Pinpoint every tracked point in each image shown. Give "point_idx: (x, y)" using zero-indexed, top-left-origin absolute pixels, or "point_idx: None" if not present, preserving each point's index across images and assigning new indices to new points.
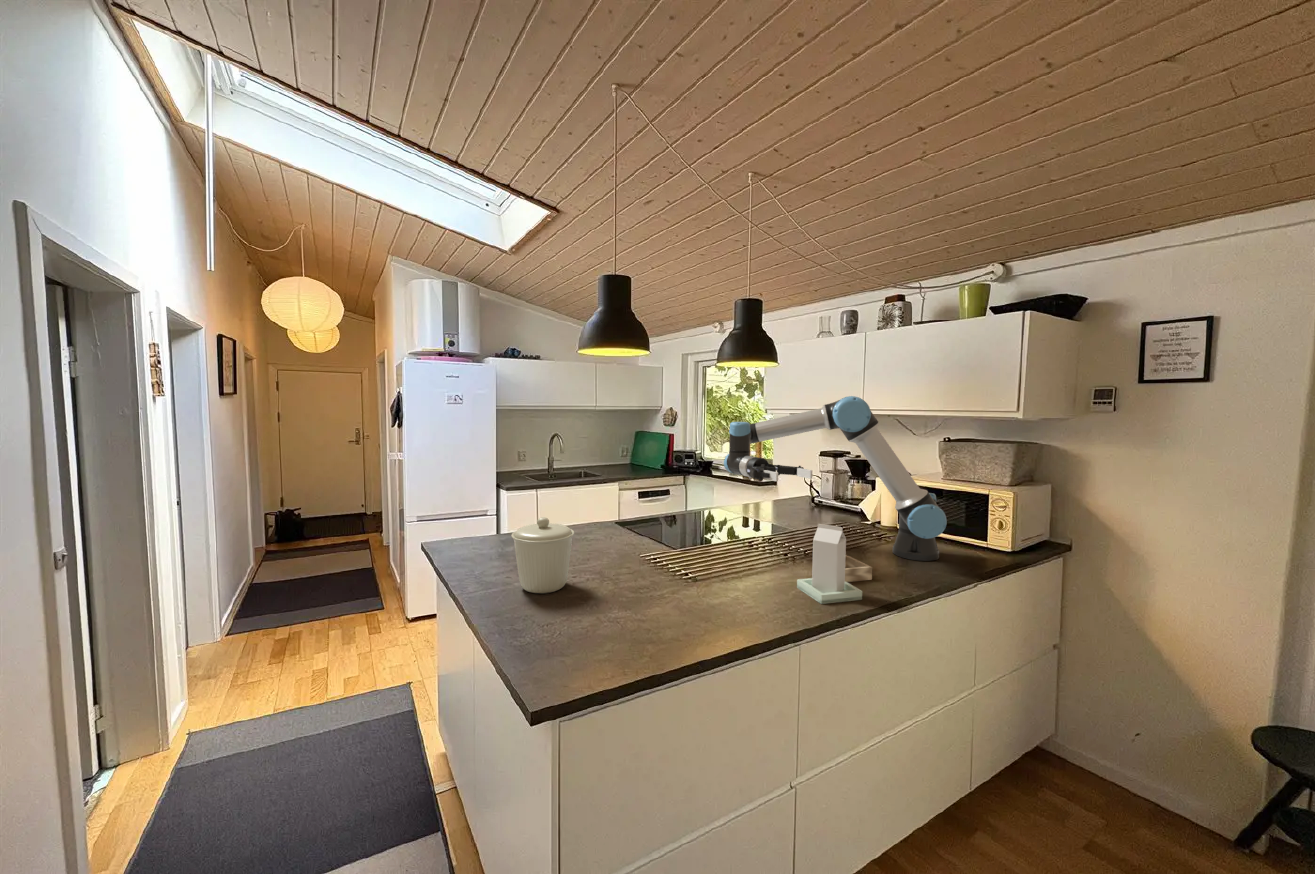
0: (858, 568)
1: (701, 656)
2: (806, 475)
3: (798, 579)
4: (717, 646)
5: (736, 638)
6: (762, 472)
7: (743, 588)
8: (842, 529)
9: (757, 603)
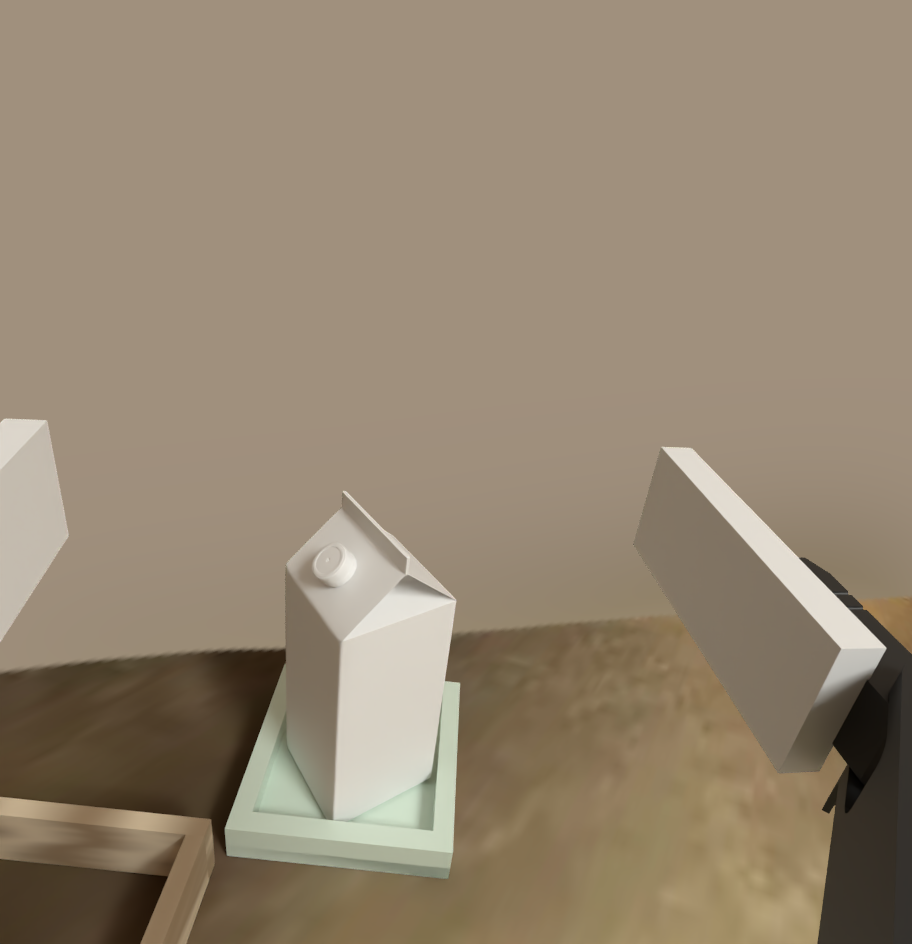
0: (65, 804)
1: (869, 605)
2: (22, 557)
3: (445, 850)
4: None
5: None
6: (892, 653)
7: None
8: (342, 499)
9: (692, 787)
